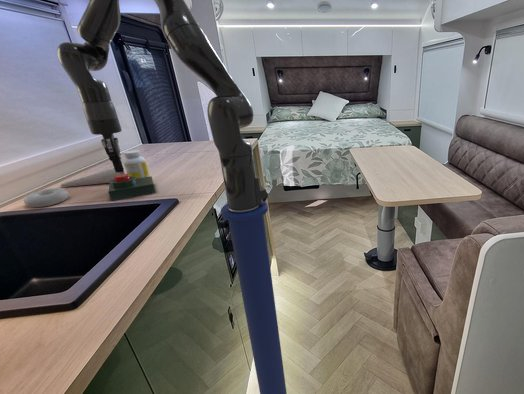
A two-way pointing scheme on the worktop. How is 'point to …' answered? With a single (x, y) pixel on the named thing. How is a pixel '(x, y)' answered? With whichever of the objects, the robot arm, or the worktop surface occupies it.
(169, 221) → the worktop surface
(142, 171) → the pill bottle
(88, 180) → the long tapered cone
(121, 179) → the button
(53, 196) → the donut
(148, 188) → the control block
